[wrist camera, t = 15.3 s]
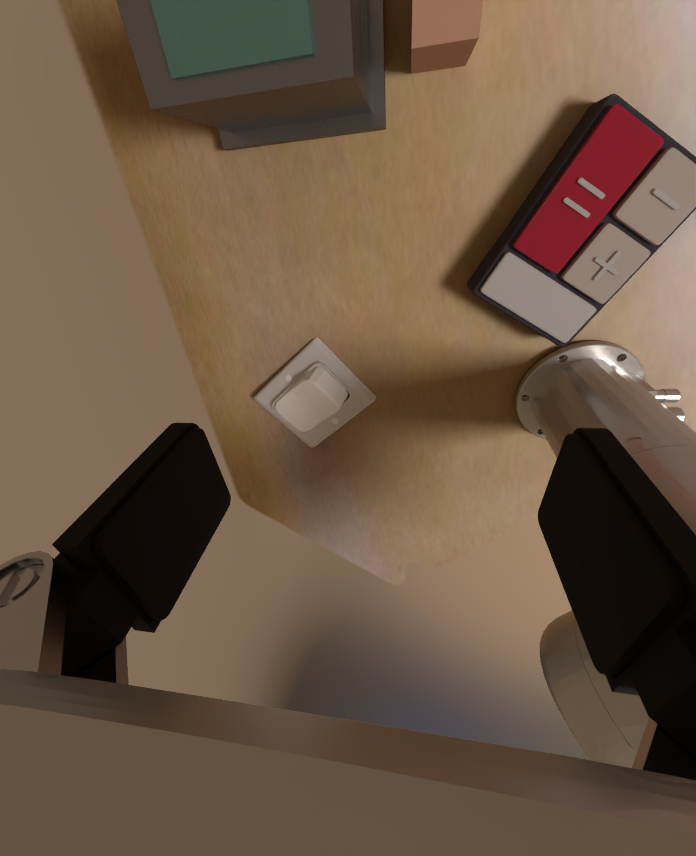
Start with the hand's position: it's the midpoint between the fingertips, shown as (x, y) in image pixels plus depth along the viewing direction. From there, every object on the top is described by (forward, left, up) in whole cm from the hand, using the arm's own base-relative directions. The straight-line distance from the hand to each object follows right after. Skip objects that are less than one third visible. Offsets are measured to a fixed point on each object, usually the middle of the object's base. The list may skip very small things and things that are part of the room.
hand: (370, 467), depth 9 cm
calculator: (-15, -1, -31) cm, 35 cm away
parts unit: (+8, -14, -30) cm, 34 cm away
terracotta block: (-3, -15, -30) cm, 34 cm away
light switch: (+11, +16, -31) cm, 37 cm away
